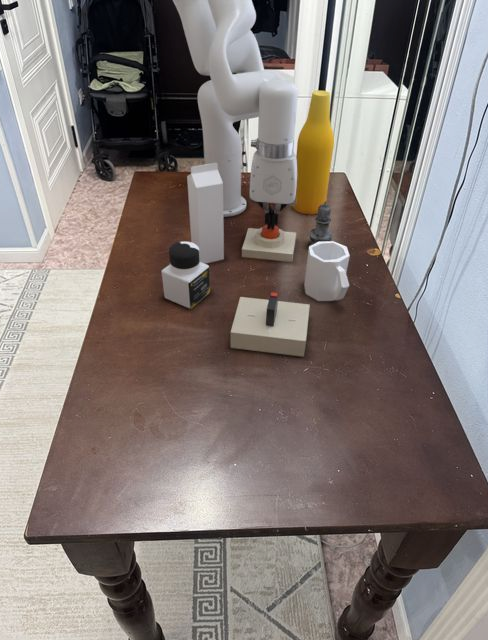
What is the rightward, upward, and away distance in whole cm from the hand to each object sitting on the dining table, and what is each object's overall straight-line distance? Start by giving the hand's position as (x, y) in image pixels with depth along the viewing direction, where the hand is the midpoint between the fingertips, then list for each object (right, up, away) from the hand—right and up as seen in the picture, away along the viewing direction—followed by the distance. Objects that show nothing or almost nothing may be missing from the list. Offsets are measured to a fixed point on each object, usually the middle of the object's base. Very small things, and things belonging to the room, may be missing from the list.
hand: (271, 226), depth 116 cm
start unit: (0, -4, +4) cm, 6 cm away
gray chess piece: (+12, -4, +6) cm, 14 cm away
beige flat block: (-1, -26, -18) cm, 32 cm away
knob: (-1, -23, -21) cm, 31 cm away
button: (0, -2, +2) cm, 3 cm away
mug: (+12, -17, -9) cm, 23 cm away
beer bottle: (+11, +10, +20) cm, 25 cm away
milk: (-15, -7, +2) cm, 17 cm away
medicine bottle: (-18, -17, -10) cm, 27 cm away
